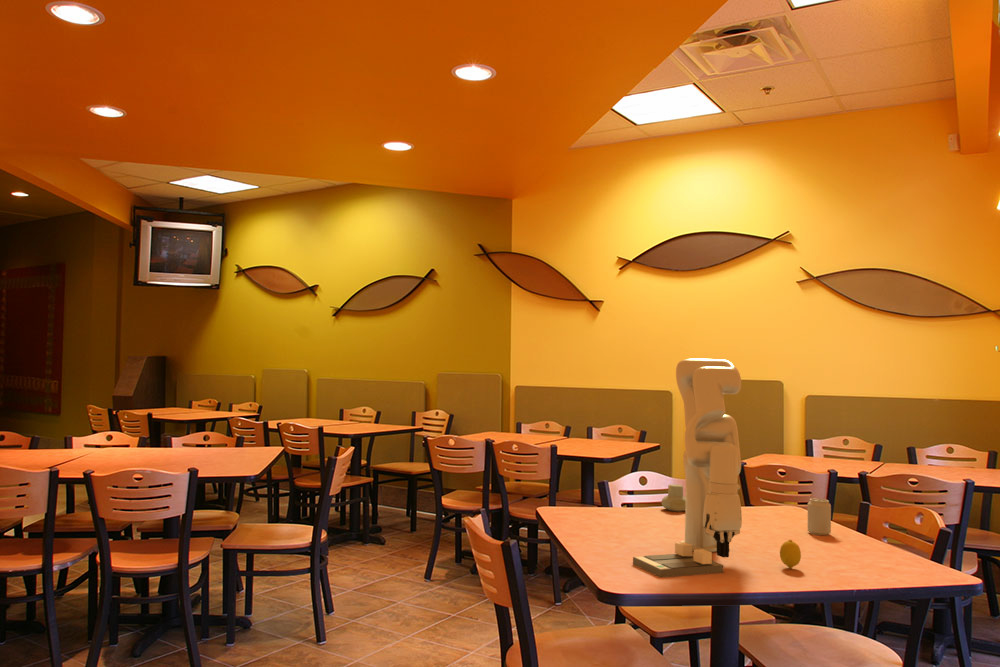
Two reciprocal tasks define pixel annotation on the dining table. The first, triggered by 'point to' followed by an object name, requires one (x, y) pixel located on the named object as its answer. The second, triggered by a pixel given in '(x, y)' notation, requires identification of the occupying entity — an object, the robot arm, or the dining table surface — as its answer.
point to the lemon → (790, 553)
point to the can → (819, 517)
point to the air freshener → (674, 499)
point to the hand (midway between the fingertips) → (722, 556)
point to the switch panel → (675, 565)
